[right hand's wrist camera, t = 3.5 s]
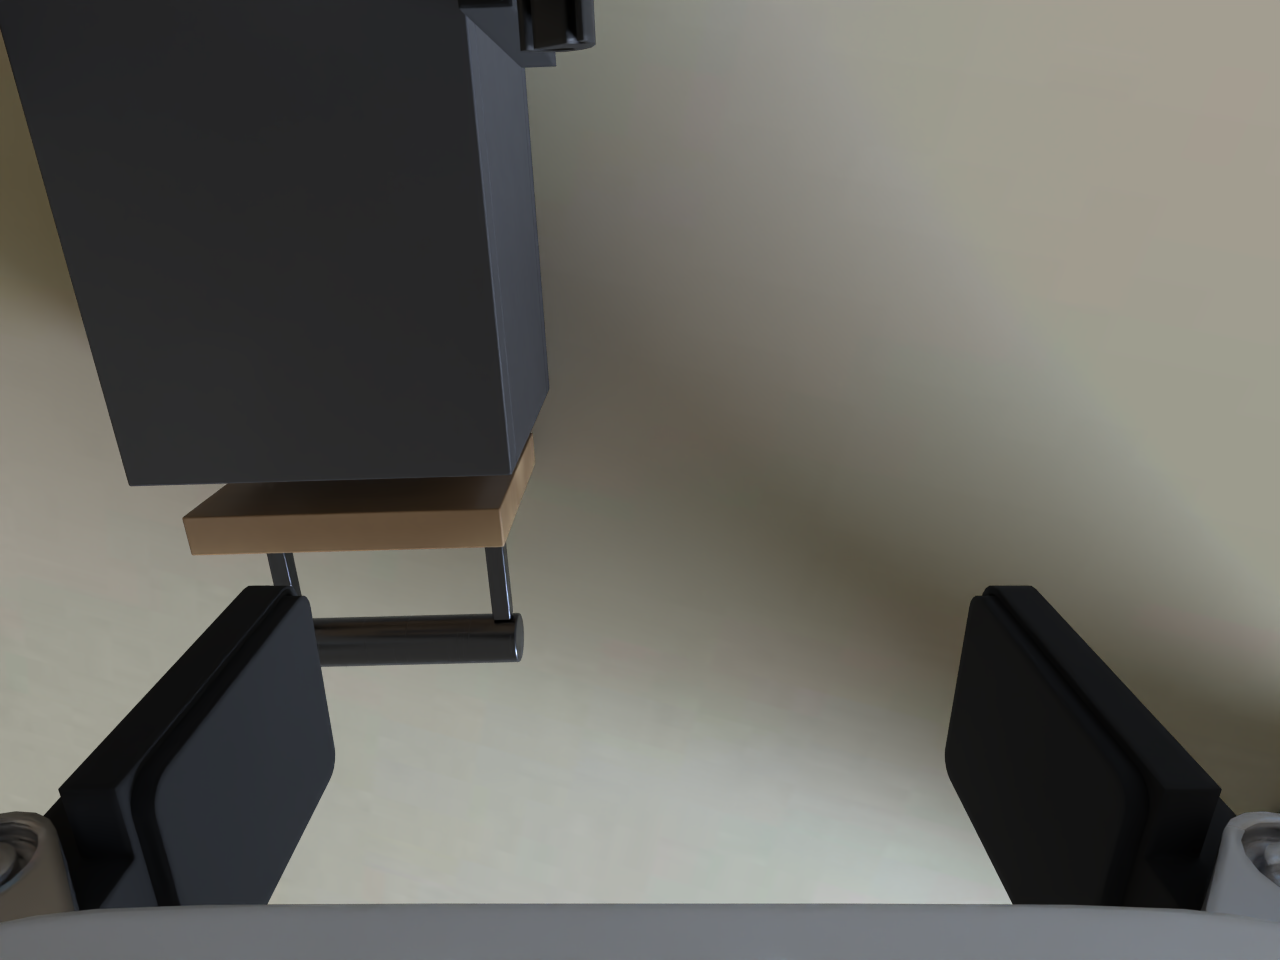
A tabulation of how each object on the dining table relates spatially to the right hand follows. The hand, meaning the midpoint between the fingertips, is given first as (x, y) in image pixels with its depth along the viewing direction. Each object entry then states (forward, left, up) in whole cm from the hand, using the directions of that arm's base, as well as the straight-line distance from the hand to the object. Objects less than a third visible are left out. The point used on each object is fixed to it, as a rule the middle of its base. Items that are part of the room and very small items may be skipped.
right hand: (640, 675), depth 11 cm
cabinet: (+8, +8, -19) cm, 22 cm away
